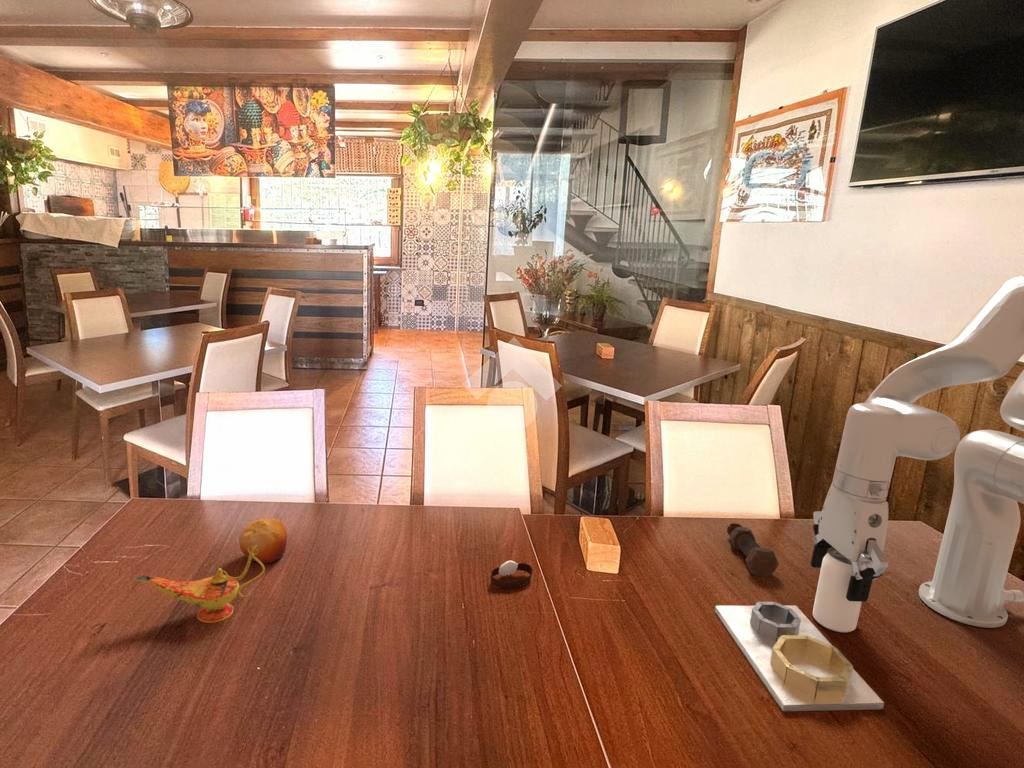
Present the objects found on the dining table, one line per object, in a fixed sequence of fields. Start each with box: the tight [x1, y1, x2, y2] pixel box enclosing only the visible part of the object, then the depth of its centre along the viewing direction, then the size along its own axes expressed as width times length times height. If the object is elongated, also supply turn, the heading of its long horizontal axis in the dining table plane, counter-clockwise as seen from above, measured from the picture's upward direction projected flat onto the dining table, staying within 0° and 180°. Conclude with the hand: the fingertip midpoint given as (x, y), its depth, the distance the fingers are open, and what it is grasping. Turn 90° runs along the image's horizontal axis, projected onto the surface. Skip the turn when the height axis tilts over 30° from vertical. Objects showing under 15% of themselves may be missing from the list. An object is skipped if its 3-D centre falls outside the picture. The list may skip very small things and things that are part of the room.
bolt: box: [726, 522, 779, 577], centre depth 121 cm, size 6×5×15 cm
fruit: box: [238, 517, 288, 564], centre depth 111 cm, size 8×8×8 cm
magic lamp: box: [134, 545, 266, 624], centre depth 93 cm, size 7×18×11 cm, turn 103°
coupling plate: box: [714, 601, 885, 712], centre depth 92 cm, size 14×22×4 cm, turn 5°
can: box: [812, 547, 866, 634], centre depth 100 cm, size 6×6×12 cm
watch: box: [490, 560, 534, 589], centre depth 107 cm, size 8×5×4 cm, turn 116°
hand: (837, 582), depth 99 cm, fingers open, 9 cm apart
